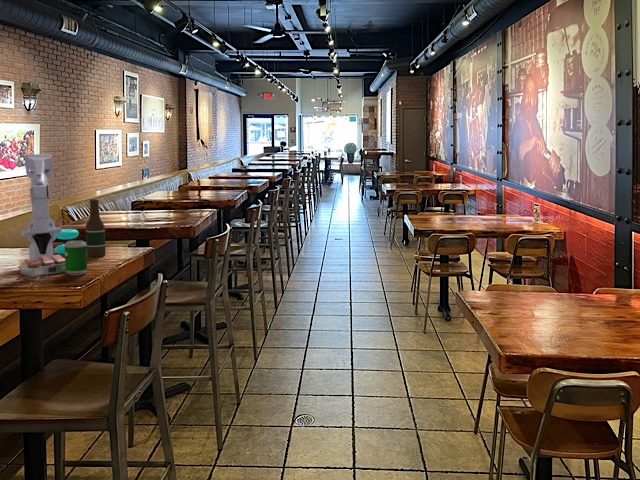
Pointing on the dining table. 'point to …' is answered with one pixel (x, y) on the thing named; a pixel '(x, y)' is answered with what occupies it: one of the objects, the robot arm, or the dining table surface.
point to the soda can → (75, 257)
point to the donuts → (65, 235)
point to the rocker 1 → (32, 262)
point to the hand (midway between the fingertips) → (42, 254)
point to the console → (42, 269)
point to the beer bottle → (95, 232)
